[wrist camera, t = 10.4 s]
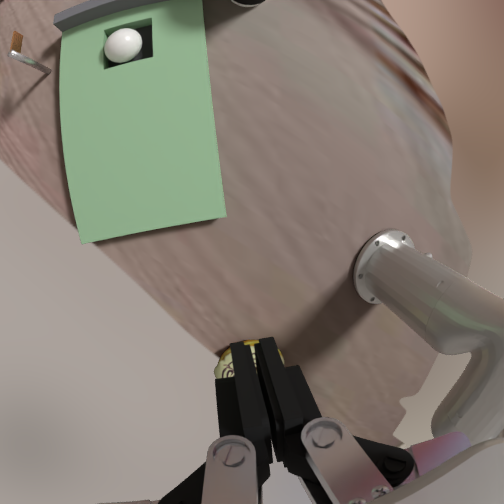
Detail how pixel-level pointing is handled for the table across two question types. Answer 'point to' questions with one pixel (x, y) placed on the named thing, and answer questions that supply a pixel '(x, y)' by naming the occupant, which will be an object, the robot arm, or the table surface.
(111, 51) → the ball
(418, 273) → the robot arm
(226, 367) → the decorated donut
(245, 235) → the table surface
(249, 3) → the dixie cup
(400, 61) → the table surface
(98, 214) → the mat
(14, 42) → the flag pin
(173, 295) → the table surface
